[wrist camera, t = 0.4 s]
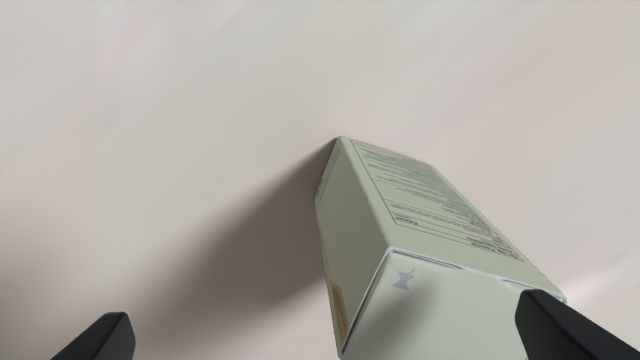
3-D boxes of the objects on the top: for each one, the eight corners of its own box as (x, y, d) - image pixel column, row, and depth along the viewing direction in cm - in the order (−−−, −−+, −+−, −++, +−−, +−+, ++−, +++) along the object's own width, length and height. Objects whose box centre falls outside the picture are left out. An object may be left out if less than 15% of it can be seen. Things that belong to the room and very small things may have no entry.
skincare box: (311, 201, 24) (323, 361, 13) (337, 132, 23) (377, 242, 11) (411, 231, 25) (506, 405, 14) (442, 167, 24) (576, 301, 12)
